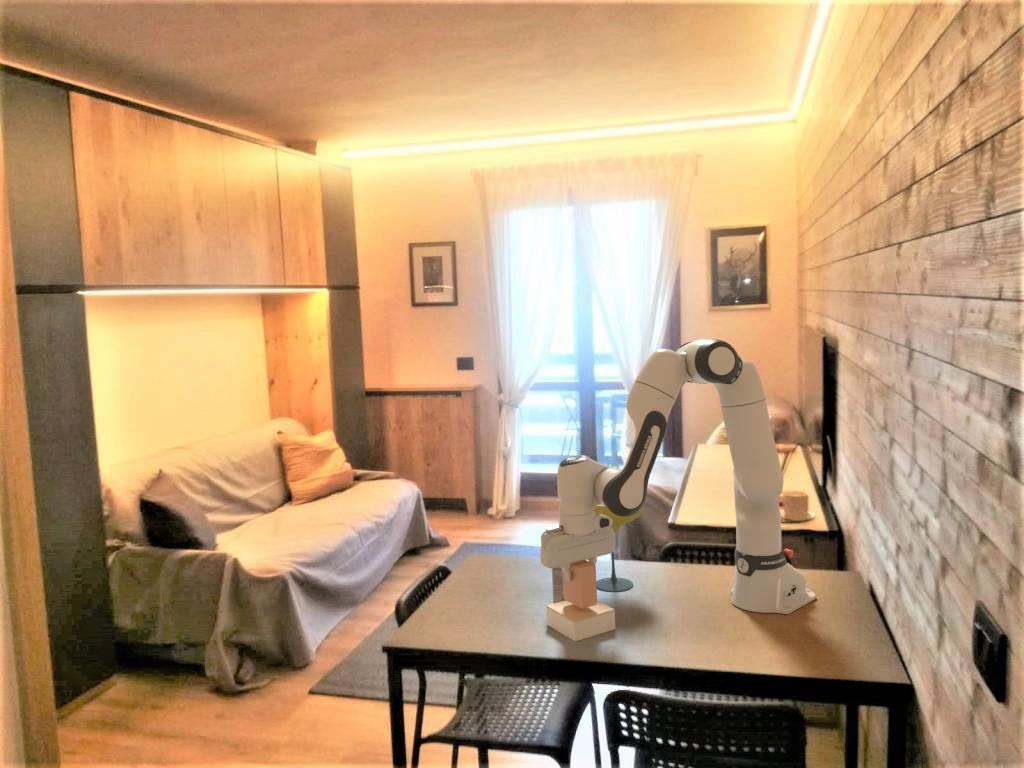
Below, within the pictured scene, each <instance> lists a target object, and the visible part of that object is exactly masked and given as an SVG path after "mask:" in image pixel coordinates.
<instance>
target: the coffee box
mask: <svg viewBox="0 0 1024 768" xmlns="http://www.w3.org/2000/svg"><path fill="white" fill-rule="evenodd" d="M551 574H552V575H551V578H552V579H551V581H552V598H553V604H554V603H558V602H561V601H565V599H564V597H563V576H562V569H561V567H560V566H559V567H555V568H551Z"/></svg>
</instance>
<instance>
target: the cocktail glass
mask: <svg viewBox="0 0 1024 768" xmlns="http://www.w3.org/2000/svg"><path fill="white" fill-rule="evenodd" d="M644 509H645V504H644V505H643V507H642V508H641V509H640V510H639V511H638V512H637V513H635V514H633V515H631V516H627V517H621V516H617V515H615V514H614V513H612V512H611V511H610V510H609V509H608V508H607V507H605V506H603V505H596V506H595V513H598V514H602V515H605V516H608V517H610V518H612V521H613V523H612V526H610V527H612V528H613V530H614V535H615V534H616V533H617V532H618V530H620V528H621V527H622V526H624V525H626V524H628V523H631V522H633V521H634V520H636V519H637V518H639V517H640V516H641V515H642V514H643V512H644ZM615 564H616V563H615V550H614V551H613V553H611V577H604V578H600V579H598V580H596V585H597V590H599V591H604V592H610V593H618V592H619V593H621V592H625V591H629V590H630V589H632V588H633V587H634V582H632V581H631V579H628V578H624V577H617V574H616V568H615V566H616V565H615Z"/></svg>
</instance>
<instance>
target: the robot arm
mask: <svg viewBox="0 0 1024 768" xmlns="http://www.w3.org/2000/svg"><path fill="white" fill-rule="evenodd" d="M687 383H695V384H700V385H701V384H703V385H707V384H712V385H714V387H715V388H716V390H717V393H718V396H719V403H720V407H721V412H722V419H723V422H724V423H723V425H724V429H725V433H726V437H727V442H728V447H729V450H730V455H731V460H732V465H733V468H732V472H733V473H732V474H733V491H734V493H733V495H734V508H735V527H736V529H735V533H736V534H735V535H736V536H735V537H736V547H734V562H735V566H734V575H733V586H732V588H731V589H730V594H731V598H730V601H731V604H733V605H734V606H735V607H737V608H739V609H741V610H744V611H749V612H755V613H767V614H769V613H770V614H771V613H775V614H783V615H789V614H792V613H793V612H795V611H796V610H798V609H800V608H801V607H804V606H805V605H806V604H807V605H808V603H810V602H812V601H814V600H816V599H817V594H816V593H815V592H814V591H812V590H811V589H808V588H807V584H806V583H807V582H806V578H805V576H804V575H803V573H802V571H800V570H798V569H797V568H795V567H794V566H793V565H792V564H790V563H789V562H787V561H788V560H787V558H789V559H790V558H793V556H794V550H793V549H788V548H784V549H782V519H781V511H780V500H779V498H780V495H781V494H782V491H783V489H784V476H783V471H782V467H781V462H780V458H779V453H778V449H777V447H776V442H775V437H774V433H773V430H772V425H771V420H770V415H769V410H768V405H767V400H766V395H765V391H764V390H765V389H764V387H763V383H762V381H761V377H760V375H759V373H758V370H757V367H756V366H755V364H754V362H752V361H750V360H748V359H745V358H741V357H740V356H739V354H738V352H737V351H736V349H735V348H734V347H733V346H732V345H731V344H730V343H729V342H727V341H726V340H723V339H722V340H721V339H719V338H716V339H715V338H712V339H710V338H709V339H708V338H705V339H697V340H694V341H689V342H685V343H683V344H681V345H680V346H678V347H677V348H675V350H672V349H668V348H660V349H657V350H655V351H653V352H652V354H651V355H650V356H649V357H648V359H647V360H646V361H645V362H644V364H643V366H642V367H641V368H640V371H639V372H638V374H637V376H636V378H635V380H634V382H633V384H632V386H631V388H630V390H629V392H628V396H627V399H626V404H625V405H626V412H627V414H628V416H629V418H630V419H631V421H632V423H633V425H634V427H635V428H634V430H635V436H634V440H633V443H632V446H631V448H630V450H629V454H628V456H627V459H626V461H625V464H624V466H623V468H622V469H621V468H617V467H615V466H613V465H609V464H608V465H607V464H604V463H601V462H598V461H596V460H594V459H592V458H590V457H589V455H583V454H578V455H572V456H569V457H567V458H564V459H563V460H561V461H560V463H559V465H558V469H557V480H556V481H557V482H556V484H557V487H556V488H557V497H558V499H559V506H558V510H557V512H558V526H555V527H553V528H547V529H545V531H543V533H542V534H541V535H540V559H539V560H540V564H542V565H543V566H544V567H545V568H546V569H552V568H555V567H559V566H560V567H561V569H562V570H563V572H564V573H565V580H566V581H572V580H574V578H573V577H574V576H573V573H571V572H569V570H568V568H570V564H571V563H575V562H579V561H583V560H586V561H589V562H591V563H593V564H595V565H597V561H598V560H597V559H598V557H603V556H605V555H610V554H611V555H612V553H613V551H614V552H615V549H616V538H615V534H614V530H613V528H612V527H610V526H612V523H613V521H612V518H610V517H608V516H605V515H602V514H598V513H595V506H596V505H603V506H605V507H607V508H608V509H609V510H610V511H611V512H612V513H614V514H615V515H617V516H621V517H627V516H631V515H633V514H635V513H637V512H638V511H639V510H640V509H641V508H642V507H643V505H644V506H645V503H646V500H647V495H648V485H649V481H650V476H651V475H652V474H651V473H652V470H653V468H654V465H655V463H656V460H657V458H658V454H659V452H660V449H661V446H662V444H663V441H664V438H665V436H666V435H665V434H666V430H667V423H668V420H669V416H670V414H671V411H672V408H673V406H674V404H675V403H676V400H677V397H678V395H679V393H680V391H681V390H682V388H683V387H684V386H685V384H687ZM786 557H787V558H786Z"/></svg>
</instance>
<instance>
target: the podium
mask: <svg viewBox="0 0 1024 768" xmlns="http://www.w3.org/2000/svg"><path fill="white" fill-rule="evenodd" d="M615 612H616V610H615V608H613V607H611V606H609V605H607V604H606V603H603V602H601V601H599V600H597V605H594V606H590V607H587V608H584V609H581V608H580V607H578V606H576V605H574V604H572V603H570V602H568V601H567V600H565V601H561V602H558V603H554V602H553V603H551V604H548V605H546V618H547V619H546V621H547V626H549V627H550V628H552V629H553V630H555V631H557V632H559V633H560V634H562V635H563V636H565V637H567V638H569V640H571V641H573V642H578V641H581V640H585V639H588V638H591V637H594V636H597V635H602V634H604V633H607V632H611V631H614V630H616V613H615Z"/></svg>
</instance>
